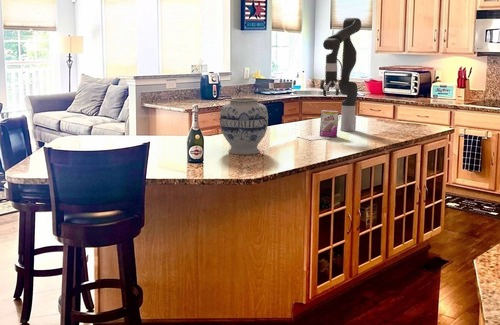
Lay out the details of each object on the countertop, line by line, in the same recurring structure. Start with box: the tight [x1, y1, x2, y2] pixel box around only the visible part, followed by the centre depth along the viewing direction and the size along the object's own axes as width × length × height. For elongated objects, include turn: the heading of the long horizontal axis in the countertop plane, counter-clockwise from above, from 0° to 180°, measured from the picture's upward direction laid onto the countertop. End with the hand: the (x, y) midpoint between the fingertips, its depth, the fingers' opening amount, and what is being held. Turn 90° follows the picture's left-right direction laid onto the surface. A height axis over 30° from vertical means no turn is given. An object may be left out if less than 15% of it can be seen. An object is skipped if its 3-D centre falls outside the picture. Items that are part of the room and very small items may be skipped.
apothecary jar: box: [219, 97, 269, 156], centre depth 352 cm, size 27×27×30 cm
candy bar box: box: [319, 110, 340, 138], centre depth 406 cm, size 11×5×16 cm, turn 84°
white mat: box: [297, 134, 331, 141], centre depth 403 cm, size 16×14×1 cm
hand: (330, 95), depth 406 cm, fingers open, 8 cm apart
